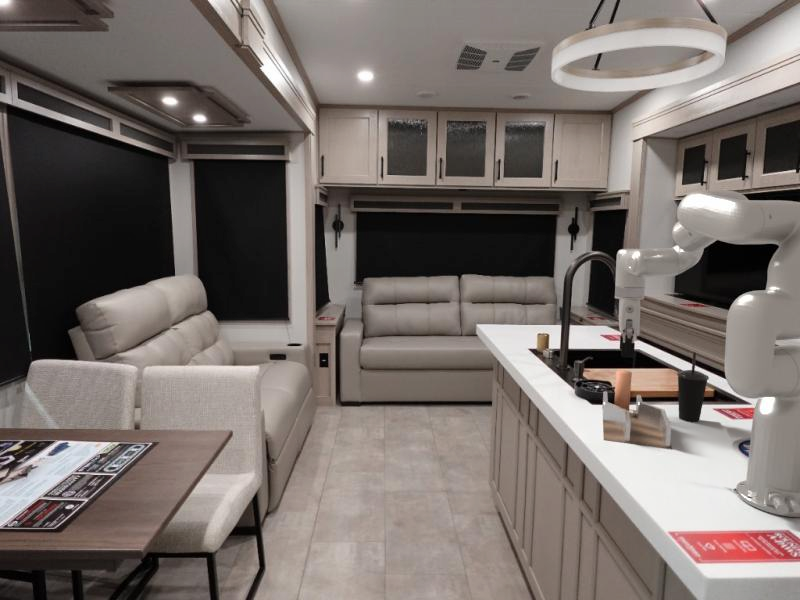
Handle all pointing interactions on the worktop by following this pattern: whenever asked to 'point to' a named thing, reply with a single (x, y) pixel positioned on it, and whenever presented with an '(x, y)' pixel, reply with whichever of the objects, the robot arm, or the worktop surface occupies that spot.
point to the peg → (623, 389)
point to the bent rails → (643, 413)
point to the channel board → (635, 433)
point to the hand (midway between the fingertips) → (626, 353)
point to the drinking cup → (691, 393)
